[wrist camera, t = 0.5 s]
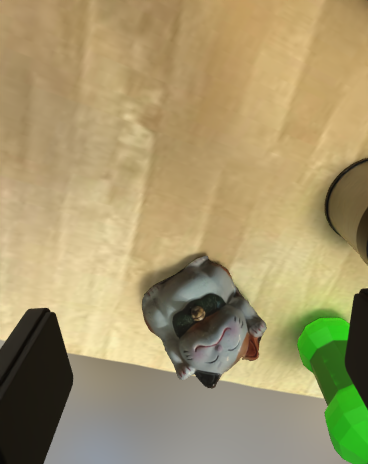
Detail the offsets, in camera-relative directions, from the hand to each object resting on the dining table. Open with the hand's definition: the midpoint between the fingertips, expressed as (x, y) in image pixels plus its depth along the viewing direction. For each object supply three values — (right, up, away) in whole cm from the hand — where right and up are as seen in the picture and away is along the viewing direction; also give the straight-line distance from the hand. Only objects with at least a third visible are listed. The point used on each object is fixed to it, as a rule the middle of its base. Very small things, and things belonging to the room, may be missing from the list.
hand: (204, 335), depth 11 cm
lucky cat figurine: (+2, -6, +42) cm, 43 cm away
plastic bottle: (+22, -13, +45) cm, 52 cm away
